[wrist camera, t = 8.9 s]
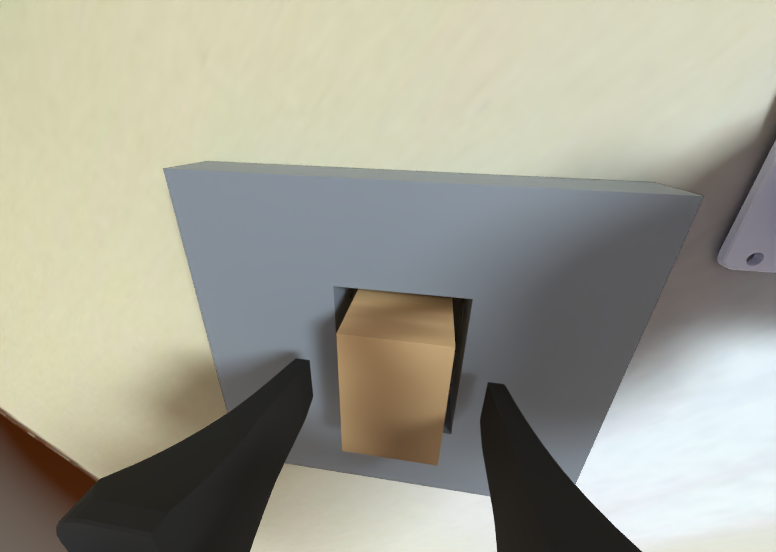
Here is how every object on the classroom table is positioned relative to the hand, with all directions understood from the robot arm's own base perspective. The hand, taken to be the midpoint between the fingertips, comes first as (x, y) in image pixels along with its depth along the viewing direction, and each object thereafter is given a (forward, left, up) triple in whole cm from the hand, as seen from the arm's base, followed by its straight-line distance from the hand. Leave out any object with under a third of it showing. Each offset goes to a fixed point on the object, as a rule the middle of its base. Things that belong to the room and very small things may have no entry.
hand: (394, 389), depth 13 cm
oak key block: (0, 0, -4) cm, 4 cm away
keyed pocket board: (0, 0, -4) cm, 4 cm away
